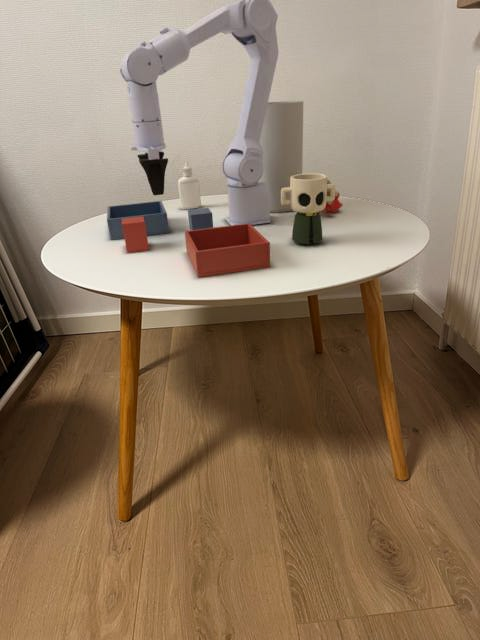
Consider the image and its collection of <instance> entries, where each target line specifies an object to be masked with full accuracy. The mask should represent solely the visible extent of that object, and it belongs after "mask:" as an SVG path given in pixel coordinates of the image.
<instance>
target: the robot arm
mask: <svg viewBox="0 0 480 640" xmlns="http://www.w3.org/2000/svg"><path fill="white" fill-rule="evenodd" d="M277 21H278V14H277V11H276V9H275V8H274V6H273V4H272V2H271V0H238V1H235V2H232V3H230V4H226V5H224V6H222V7H220V8H217V9H215V10H214V11H212V12H210V13H209V14H208V15H206V16H205V17H203V18H201V19H200V20H198V21H196V22H195V23H193V24H192V25H190V26H189V27H186V29H184V30H180V29H177V28H175V27H171V28H168V27H167V26H166V27H163V28H162V29H160V30H159V35H158V36H156V37H154V38H151V40H148V42H147V41H144V40H143V41H141V42H140V43H138V47H136V48H135V49H134V50H132V51H129V52H127V53H126V54H125V55H124V56H123V58H122V60H121V63H120V68H119V72H120V75H121V77H122V79H123V80H124V82H126V88H127V94H128V95H127V96H128V97H127V98H128V104H129V110H130V116H131V122H132V129H133V137H134V142H135V145H130V146H129V147H130V151H136V152H141V154H137V156H136V157H137V158H138V162H139V164H140V166H141V168H142V169H143V171H144V173H145V175H146V178H147V182H148V184H149V187H150V190H151V193H152V195H153V196H163V195H164V193H165V179H166V178H165V175H166V170H167V166H168V163H169V158H167V157H166V158H165V157H164V156H165V152H164V151H163V150H165V149H166V148H167V146H166V143H165V138H164V137H165V136H164V129H163V122H162V114H161V107H160V100H159V99H160V97H159V93H158V88H157V87H158V86H157V80H158V78H159V76H163V75H164V74H166V73H167V72H169V71H171V70H173V69H174V68H176V67H177V66H179V65H181V64H183V63H184V62H187V60H188V59H189V56H190V52H191V49H193V48H195V47H196V46H198V45H200V44H202V43H203V42H205V41H207V40H209V39H211V38H213V37H215V36H217V35H219V34H220V33H221V34H224V35H228V34H230V35H231V36H232V37H233V38H234V39H235V40H236V41H237V42H238V43H239V44H240V45H241V46H242V47H243V48H244V49H245V50H246V52H247V54H248V56H249V58H250V64H249V69H248V73H247V79H246V83H245V88H244V94H243V99H242V104H241V109H240V113H239V118H238V123H237V128H236V134H235V137H234V139H233V140H232V141H231V142H230V144H229V145H228V150H227V152H226V154H225V155H224V157H223V158H222V162H221V172H222V173H223V175H224V176H225V177H226V179H227V182H226V185H227V201H228V203H227V204H228V216H225V217H224V219H225V221H226V222H227V223H228V224H229V226H231V225H239V224H248V223H250V224H251V225H252V226H255V225H262V224H270V223H271V222H272V221H271V216H270V213H271V212H270V206H269V190H268V186H267V184H266V183H265V182H258V181H259V180H260V179H261V177H262V174H263V163H262V158H263V150H262V148H261V146H260V143H259V141H260V136H261V132H262V127H263V122H264V118H265V113H266V109H267V104H268V102H269V99H270V94H271V90H272V85H273V82H274V77H275V72H276V67H277V62H278V59H279V58H278V57H279V44H278V35H277V29H276V26H277Z"/></svg>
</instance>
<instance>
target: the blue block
mask: <svg viewBox="0 0 480 640" xmlns="http://www.w3.org/2000/svg"><path fill="white" fill-rule="evenodd" d="M187 216H188V224H189V225H188V227H189V231H190V230H198V229H206V228H214V219H213V212H212V211H211V209H210V208H209V207H204V208H195V209H187Z"/></svg>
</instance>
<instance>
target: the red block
mask: <svg viewBox="0 0 480 640" xmlns="http://www.w3.org/2000/svg"><path fill="white" fill-rule="evenodd" d="M122 228H123V233H124V238H123V239H124V243H125V248H126V253H127V254H129V253H130V254H131V253H137V252H138V253H139V252H146V251H150V246H149V239H148V235H147V233H146V226H145V221H144V216H141V217H133V218H124V219H122Z"/></svg>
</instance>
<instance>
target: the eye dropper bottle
mask: <svg viewBox="0 0 480 640" xmlns="http://www.w3.org/2000/svg"><path fill="white" fill-rule="evenodd" d="M181 169H182V177H180V178H179V179H178V180H177V188H178V196H179V205H180V208H181V210H193V209H200V208H201V207H202V199H201V189H200V179H199V178H198V177H196V176H194V175H193V169H192V166H190V164H189V162H188V161H185V162H184V166H183V167H182V168H181Z"/></svg>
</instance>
